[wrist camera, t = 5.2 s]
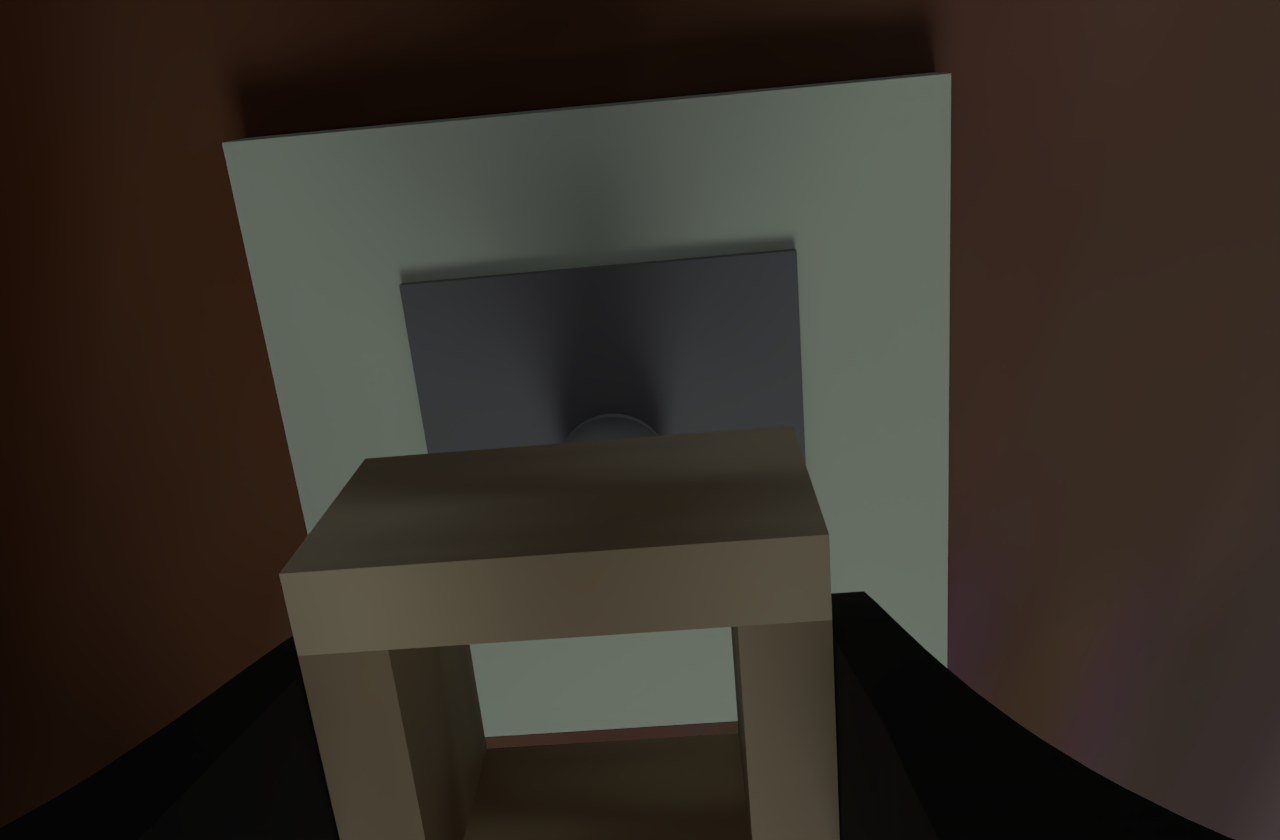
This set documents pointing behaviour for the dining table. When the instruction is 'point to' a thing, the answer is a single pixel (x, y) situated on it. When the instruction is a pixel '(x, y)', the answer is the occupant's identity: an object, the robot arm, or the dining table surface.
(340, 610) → the collar
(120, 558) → the dining table surface
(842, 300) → the pin board
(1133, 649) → the dining table surface
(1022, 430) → the dining table surface
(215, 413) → the dining table surface
